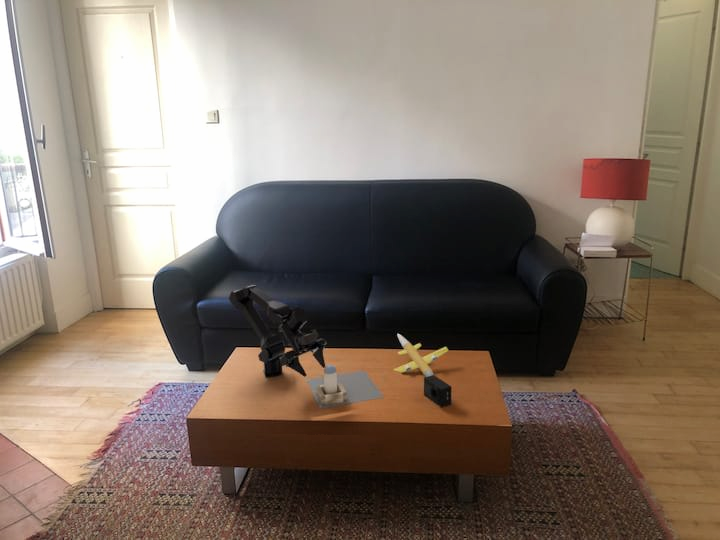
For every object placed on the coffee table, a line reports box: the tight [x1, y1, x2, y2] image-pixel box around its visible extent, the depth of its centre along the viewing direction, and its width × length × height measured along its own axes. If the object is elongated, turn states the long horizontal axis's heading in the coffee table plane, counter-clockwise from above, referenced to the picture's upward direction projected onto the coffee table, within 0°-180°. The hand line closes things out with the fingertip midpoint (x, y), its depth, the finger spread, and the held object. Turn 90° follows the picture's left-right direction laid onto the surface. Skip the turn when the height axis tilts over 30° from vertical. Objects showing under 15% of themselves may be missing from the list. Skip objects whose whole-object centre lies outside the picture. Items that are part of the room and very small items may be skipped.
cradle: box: [316, 383, 347, 405], centre depth 189 cm, size 9×9×3 cm
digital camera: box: [423, 374, 452, 408], centre depth 187 cm, size 10×5×7 cm, turn 29°
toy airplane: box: [392, 333, 449, 377], centre depth 216 cm, size 26×7×30 cm
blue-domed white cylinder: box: [323, 364, 338, 395], centre depth 188 cm, size 4×4×12 cm
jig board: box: [305, 370, 385, 410], centre depth 196 cm, size 23×23×1 cm
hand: (315, 371), depth 193 cm, fingers open, 9 cm apart
